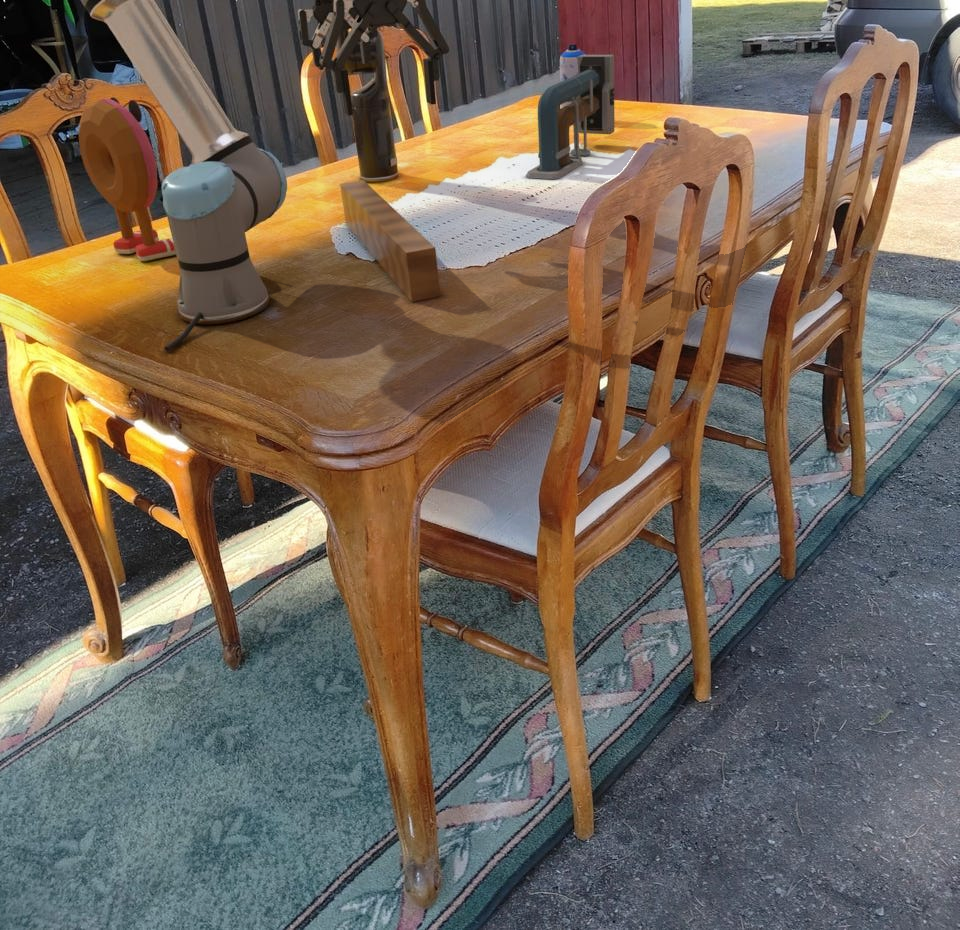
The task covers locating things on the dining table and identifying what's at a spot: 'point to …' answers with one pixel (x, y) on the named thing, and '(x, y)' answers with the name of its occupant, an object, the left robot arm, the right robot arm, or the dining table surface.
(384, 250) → the beam
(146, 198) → the toy
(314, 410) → the dining table surface
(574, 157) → the clamp
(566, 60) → the aerosol can
